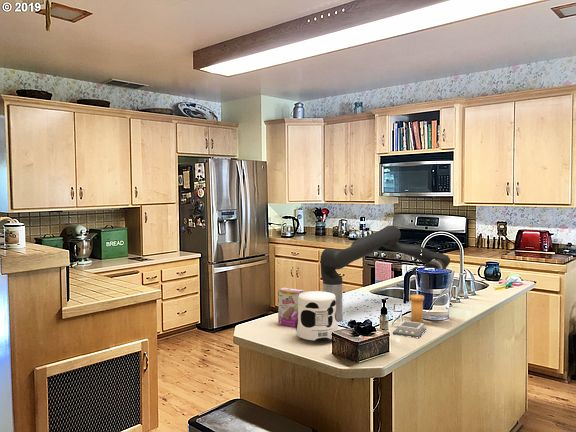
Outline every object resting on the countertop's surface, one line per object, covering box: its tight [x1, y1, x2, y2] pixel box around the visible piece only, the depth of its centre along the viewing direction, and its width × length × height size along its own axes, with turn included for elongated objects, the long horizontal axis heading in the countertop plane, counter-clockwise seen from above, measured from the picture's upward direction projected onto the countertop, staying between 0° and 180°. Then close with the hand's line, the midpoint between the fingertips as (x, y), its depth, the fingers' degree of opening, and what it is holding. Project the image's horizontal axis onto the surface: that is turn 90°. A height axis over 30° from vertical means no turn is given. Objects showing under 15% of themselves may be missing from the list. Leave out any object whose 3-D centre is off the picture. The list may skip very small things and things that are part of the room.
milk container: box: [295, 290, 339, 343], centre depth 193 cm, size 17×17×18 cm
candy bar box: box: [277, 287, 305, 329], centre depth 211 cm, size 11×5×16 cm, turn 59°
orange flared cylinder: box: [409, 293, 425, 323], centre depth 210 cm, size 6×6×14 cm
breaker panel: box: [392, 320, 427, 339], centre depth 201 cm, size 11×12×3 cm
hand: (424, 274), depth 220 cm, fingers open, 8 cm apart
